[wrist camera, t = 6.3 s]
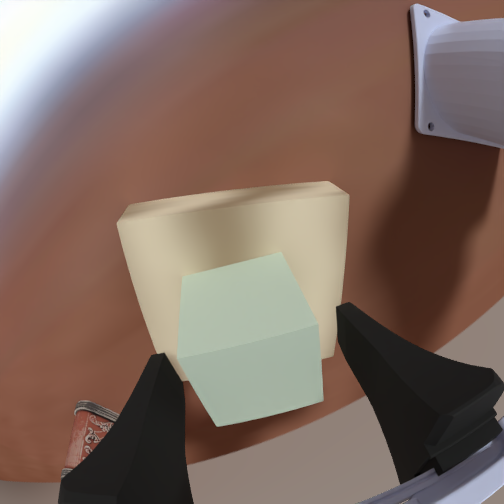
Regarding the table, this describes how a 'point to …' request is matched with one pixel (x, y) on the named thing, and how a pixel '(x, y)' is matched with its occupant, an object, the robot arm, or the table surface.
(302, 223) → the maple block
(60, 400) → the table surface
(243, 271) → the sage block
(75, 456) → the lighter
